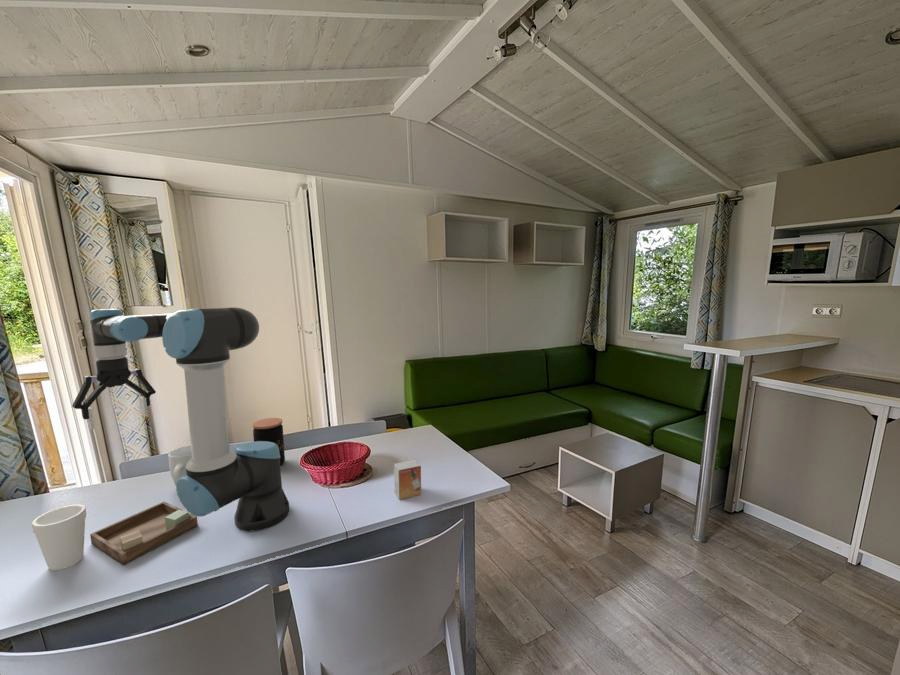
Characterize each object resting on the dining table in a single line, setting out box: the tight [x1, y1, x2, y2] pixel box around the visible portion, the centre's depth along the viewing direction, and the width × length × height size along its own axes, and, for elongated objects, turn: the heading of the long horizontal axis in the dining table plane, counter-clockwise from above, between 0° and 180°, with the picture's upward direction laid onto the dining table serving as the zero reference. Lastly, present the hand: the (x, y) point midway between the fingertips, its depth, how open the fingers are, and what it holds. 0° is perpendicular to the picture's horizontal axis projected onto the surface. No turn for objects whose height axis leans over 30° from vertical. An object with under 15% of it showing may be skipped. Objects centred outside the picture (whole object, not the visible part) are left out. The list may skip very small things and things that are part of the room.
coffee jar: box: [252, 417, 286, 467], centre depth 148 cm, size 11×11×18 cm
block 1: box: [120, 530, 143, 552], centre depth 99 cm, size 4×4×4 cm
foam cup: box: [31, 503, 87, 572], centre depth 96 cm, size 10×9×13 cm
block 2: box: [165, 509, 190, 530], centre depth 109 cm, size 4×4×4 cm
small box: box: [393, 459, 422, 500], centre depth 127 cm, size 8×6×10 cm
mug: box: [167, 444, 192, 487], centre depth 132 cm, size 15×11×13 cm
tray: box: [89, 501, 199, 566], centre depth 107 cm, size 18×18×3 cm
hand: (119, 422), depth 121 cm, fingers open, 13 cm apart
